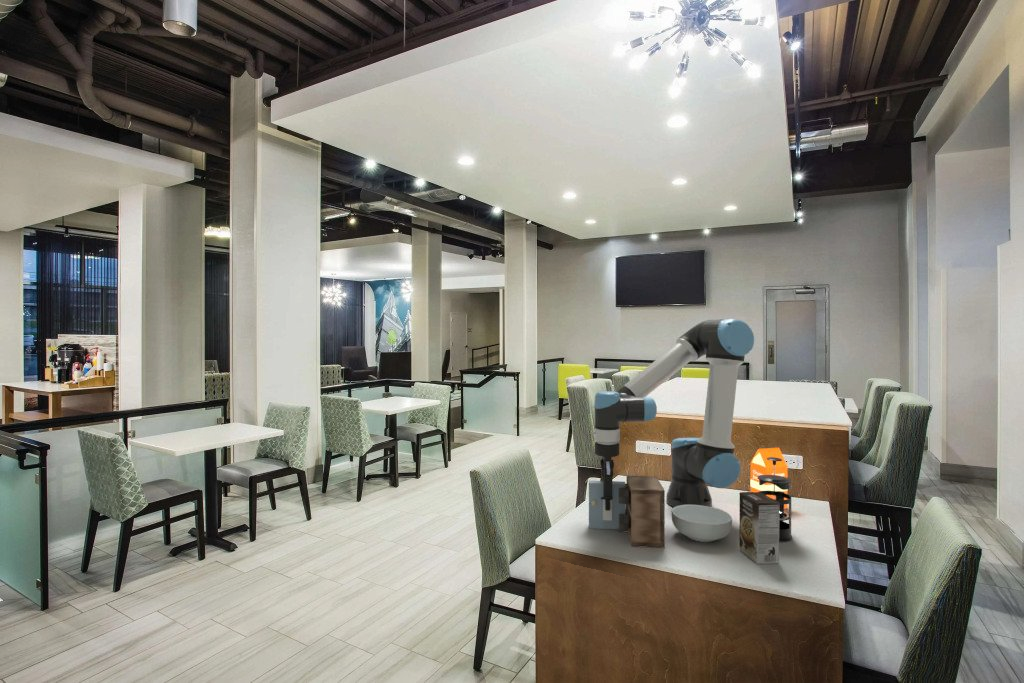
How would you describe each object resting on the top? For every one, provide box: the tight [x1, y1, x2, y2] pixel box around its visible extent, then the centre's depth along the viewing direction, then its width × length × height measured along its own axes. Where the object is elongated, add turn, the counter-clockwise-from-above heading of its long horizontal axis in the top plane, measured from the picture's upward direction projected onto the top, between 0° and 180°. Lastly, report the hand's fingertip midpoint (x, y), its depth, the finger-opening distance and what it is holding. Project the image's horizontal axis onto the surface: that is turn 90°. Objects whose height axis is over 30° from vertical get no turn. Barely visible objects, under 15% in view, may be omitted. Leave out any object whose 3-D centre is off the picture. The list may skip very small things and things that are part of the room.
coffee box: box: [738, 491, 780, 565], centre depth 137 cm, size 9×6×16 cm
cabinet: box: [618, 475, 666, 548], centre depth 152 cm, size 12×16×16 cm
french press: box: [758, 457, 793, 543], centre depth 152 cm, size 12×9×23 cm
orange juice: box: [749, 447, 789, 509], centre depth 178 cm, size 8×9×20 cm
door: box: [588, 480, 626, 530], centre depth 158 cm, size 11×4×14 cm, turn 83°
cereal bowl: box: [671, 505, 733, 543], centre depth 151 cm, size 17×17×7 cm
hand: (607, 517), depth 158 cm, fingers open, 3 cm apart
